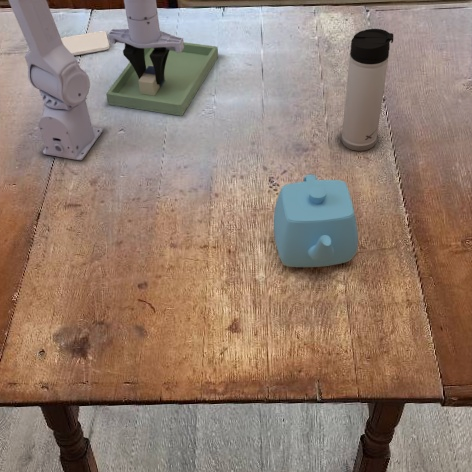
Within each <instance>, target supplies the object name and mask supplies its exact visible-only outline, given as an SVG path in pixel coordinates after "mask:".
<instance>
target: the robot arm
mask: <svg viewBox="0 0 472 472" xmlns="http://www.w3.org/2000/svg"><path fill="white" fill-rule="evenodd" d="M7 1H8V3H9V5H10V7H11V11H12V12H13V15H14V17H15V19H16V21H17V24H18V26H19V28H20V30H21V33H22V35H23V37H24V39H25V42H26V44H27V46H28V51H27V52H26V54H25V55H24V59H25V61H26V64H27V77H28V80H29V83H30V84H31V86H33V88H35V89H37V90H39V93H40V97H41V98H42V102H43V112H42V115H41V117H40V118H39V121H38V128H39V132H40V135H41V138H42V141H43V144H44V149H43V150H42V154H43V155H46V156H47V155H48V156H53V157H59V158H64V159H70V160H76V161H82V160H83V159H84V158H85V157H86V155H87V154H88V152H89V151H90V150H91V148H92V147H93V146H94V144H95V143H96V142H97V140H98V138H99V137H100V136H101V134H102V133H103V131H104V130H103V128H102V127H96V126H93V124H92V121H91V116H90V112H89V108H88V104H87V98H88V95H89V92H90V87H91V83H90V82H91V81H90V80H91V79H90V78H89V77H90V76H89V75H88V72H86V71H85V70H84V69H82V68H81V66H80V64H79V62H78V59H77V58H76V56H75V55H74V56H73V55H72V54H71V52H70V51H69V50H68V49H67V48H66V47H65V46H64V45H63V42H62V40H61V38H62V37H61V35H60V32H59V30H58V27H57V24H56V22H55V19H54V16H53V14H52V12H51V9H50V5H49V4H48V1H47V0H7ZM123 4H124V10H125V16H126V21H127V28H121V29H120V28H112V29H111V30H109V33H108V34H107V37H108V42H109V45H110V44H112V45H115V44H116V43H117V44H124V49H123V50H122V54H123V56H124V57H125V58H126V59H127V60H128V62H130V63H131V64H132V66H133V68H134V69H135V71H136V73H137V75H138V78H139V79H140V78H141V77H142V75H143V74H144V72H145V70H146V64H145V55H144V48H154V50H153V51H152V52H151V54H150V59H151V61H152V63H153V67H154V70H155V77H156V82H157V84H159V85H161V83H162V82H163V80H164V71H165V65H166V60H167V57H168V54H169V51H170V50H175V51H176V52H177V53H181V52H182V50H183V49H184V41H185V40H184V38H183V37H179V36H175V35H174V34H173V35H172V34H170V33H167V32H165V31H162V30H161V28H160V23H159V22H160V21H159V14H158V13H159V12H158V6H157V0H123Z"/></svg>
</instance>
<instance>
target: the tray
mask: <svg viewBox="0 0 472 472" xmlns="http://www.w3.org/2000/svg"><path fill="white" fill-rule="evenodd" d="M153 50H154V48H144V55H145V64H146V69H147V68H148V66H149V65H153V63H152V61H151V59H150V54H151V52H152V51H153ZM218 51H219V50H218V46H216V45H208V44H200V43H193V42H184V49H183V50H182V52H181V53H177V52H176V51H175V50H170V51H169V54H168V57H167V60H166V65H165V71H164V72H165V81H164V83H163V84H162V86H161V87H160V88H159V90H158V91H157V93H156V94H155V96H152V95H146V94H140V88H139V82H138V81H139V78H138V75H137V73H136V71H135V69H134V68H133V66H132V64H131V63H130V62H129V61H128V62H129V63H128V64H127V65H126V66H125V67H124V69H123V70H122V72H121V73H120V74H119V76H118V77H117V78H116V80H115V81H114V82H113V84H112V85H111V86H110V88H109V89H108V90H107V92H106V94H105V95H106V100H107V104H108V106H116V107H123V108H129V109H134V110H135V109H136V110H142V111H148V112H153V113H154V112H155V113H160V114H166V115H167V114H168V115H174V116H180V117H183V115H184V114H185V112H186V111H187V109H188V107H189V106H190V104H191V103H192V101H193V100H194V98H195V96H196V95H197V93H198V91H199V89H200V88H201V86H202V84H203V83H204V81H205V80H206V78H207V77H208V75H209V73H210V71H211V70H212V68H213V67H214V65H215V63H216V62H217V60H218V58H219V52H218Z"/></svg>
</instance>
